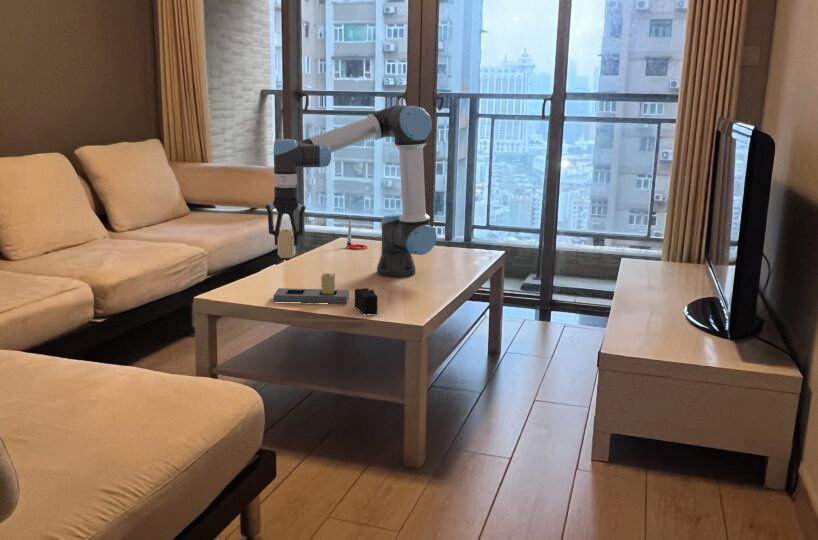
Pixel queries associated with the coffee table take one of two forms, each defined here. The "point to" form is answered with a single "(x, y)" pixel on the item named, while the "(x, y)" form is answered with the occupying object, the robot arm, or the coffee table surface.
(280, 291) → the rail
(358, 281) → the coffee table surface
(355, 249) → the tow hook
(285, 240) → the tan tall block
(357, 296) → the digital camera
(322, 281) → the beige upright block
